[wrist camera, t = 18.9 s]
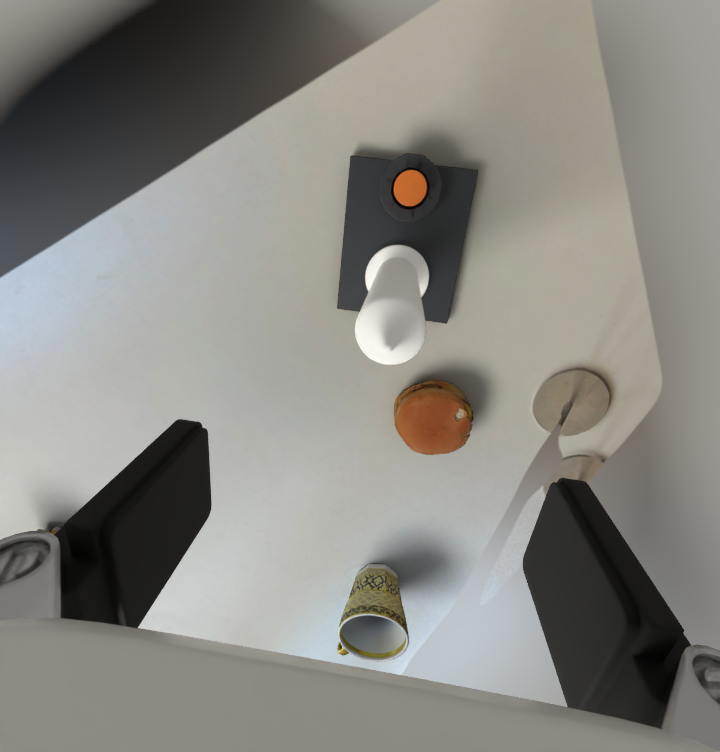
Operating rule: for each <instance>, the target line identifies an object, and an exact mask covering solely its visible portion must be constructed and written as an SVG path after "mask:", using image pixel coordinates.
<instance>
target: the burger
mask: <svg viewBox="0 0 720 752" xmlns="http://www.w3.org/2000/svg"><path fill="white" fill-rule="evenodd" d="M472 415H473V411H472V409H471V407H470V404H469V403H468V402H467V401H466V399H465V396H464V394H463V393H462V391H461V390H460V389H459V388H457V387H456V386H454V385H453V384H449V383H448V382H446V381H442V380H428V381H426V382H424V383H420V384H416V385H413V386H411V387H409V388H408V389H407V390H405V391H404V392H403V393H402V394H400V395H399V396H398V397H397V399H396V402H395V406H394V416H395V426H396V429H397V431H398V433H399V435H400V436H401V437H402V438H403V440H404V442H405V443H406V444H407V445H408V446H409V447H410V448H411V449H412V450H414V451H415V452H418V453H421V454H426V455H434V454H446V453H450V452H453V451H455V450H457V449H459V448H461V447H462V446H463V445H464V444H466V443H465V442H466V441H467V440H468V438H469V436H470V431H471V428H472V424H471V422H472V421H473V416H472Z"/></svg>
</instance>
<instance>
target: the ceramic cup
mask: <svg viewBox="0 0 720 752" xmlns="http://www.w3.org/2000/svg"><path fill="white" fill-rule="evenodd" d="M338 639H339V644H338V652H339V654H341V655H346V654H348V653H351V654H352V655H354V656H356V657H358V658H361V659H364V660H368V661H377V662H379V661H388V660H392V659H395V658H397V657H399V656H400V655H402V654H403V653H404V652H405V651H406V649H407V647H408V644H409V637H408V630H407V624H406V618H405V614H404V610H403V606H402V601H401V595H400V589H399V583H398V577H397V574H396V572H395V571H393V570H392V569H391V568H389V567H388V566H387V565H384V564H368V565H367V566H366V567H364V568H363V569H362V570H360V571H359V572H358V573H357V576H356V578H355V582H354V585H353V587H352V590H351V593H350V596H349V600H348V602H347V604H346V607H345V609H344V612H343V615H342V618H341V621H340V625H339V629H338ZM342 646H343V648H342Z"/></svg>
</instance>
